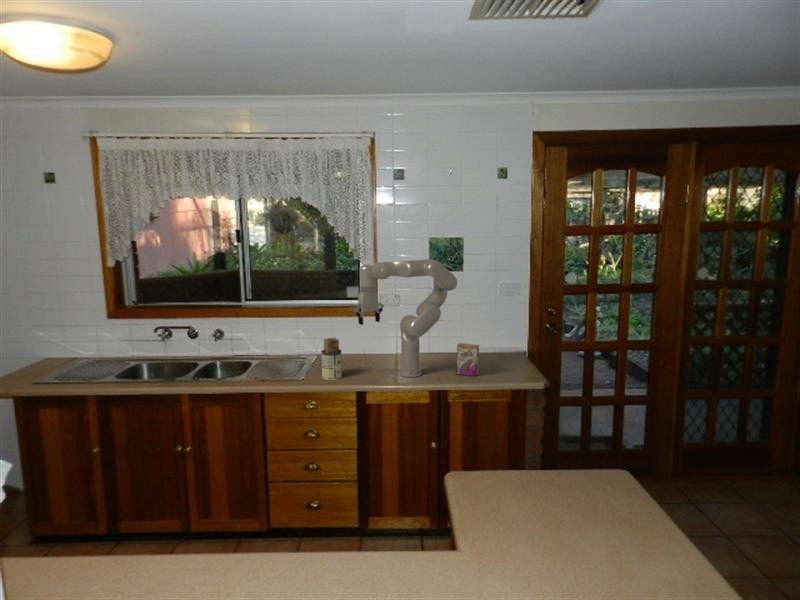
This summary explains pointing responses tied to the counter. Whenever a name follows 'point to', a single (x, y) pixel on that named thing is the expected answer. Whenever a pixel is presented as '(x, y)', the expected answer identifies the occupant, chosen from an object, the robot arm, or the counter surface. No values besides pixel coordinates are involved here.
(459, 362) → the candy bar box
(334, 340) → the walnut cube
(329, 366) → the coffee can
